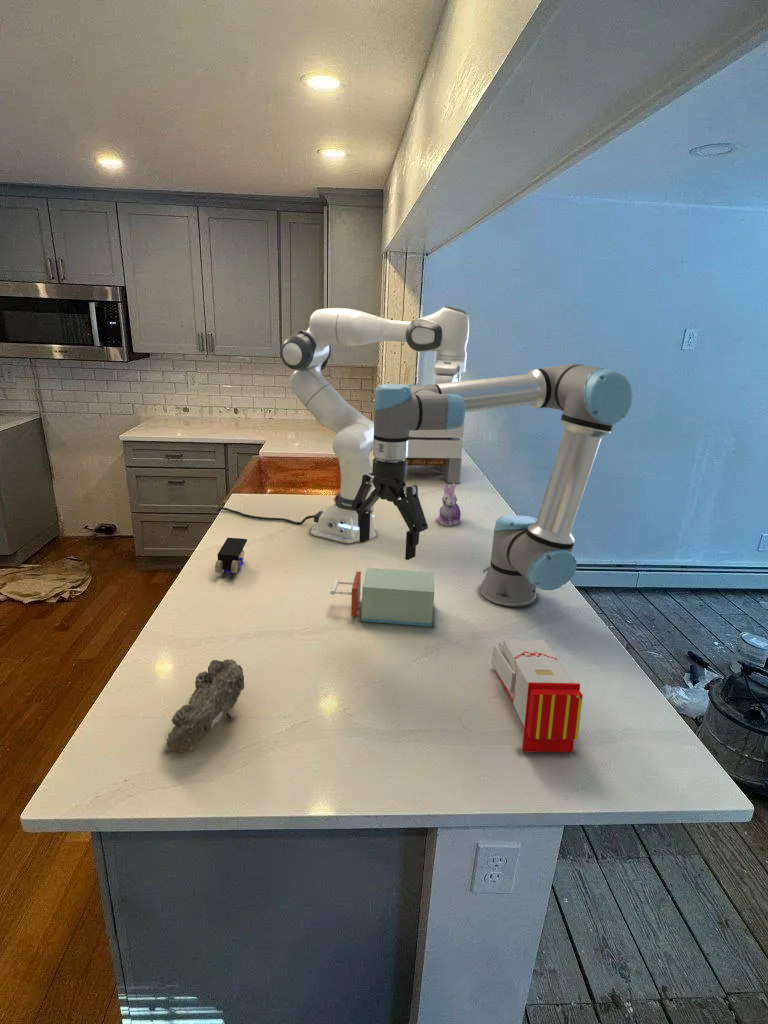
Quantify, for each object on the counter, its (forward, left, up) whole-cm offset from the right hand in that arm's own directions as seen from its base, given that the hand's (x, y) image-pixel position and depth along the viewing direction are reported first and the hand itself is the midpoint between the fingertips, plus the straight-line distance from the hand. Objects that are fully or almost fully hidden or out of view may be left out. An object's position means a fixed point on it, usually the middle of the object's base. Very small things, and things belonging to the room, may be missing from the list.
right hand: (386, 549), depth 129 cm
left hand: (-36, -43, +22) cm, 61 cm away
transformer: (-71, -130, -23) cm, 150 cm away
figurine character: (+29, -48, -23) cm, 60 cm away
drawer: (-3, -13, -22) cm, 26 cm away
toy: (-19, +32, -23) cm, 44 cm away
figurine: (-53, -66, -23) cm, 88 cm away
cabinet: (-8, -10, -23) cm, 27 cm away
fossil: (+41, +15, -23) cm, 50 cm away
